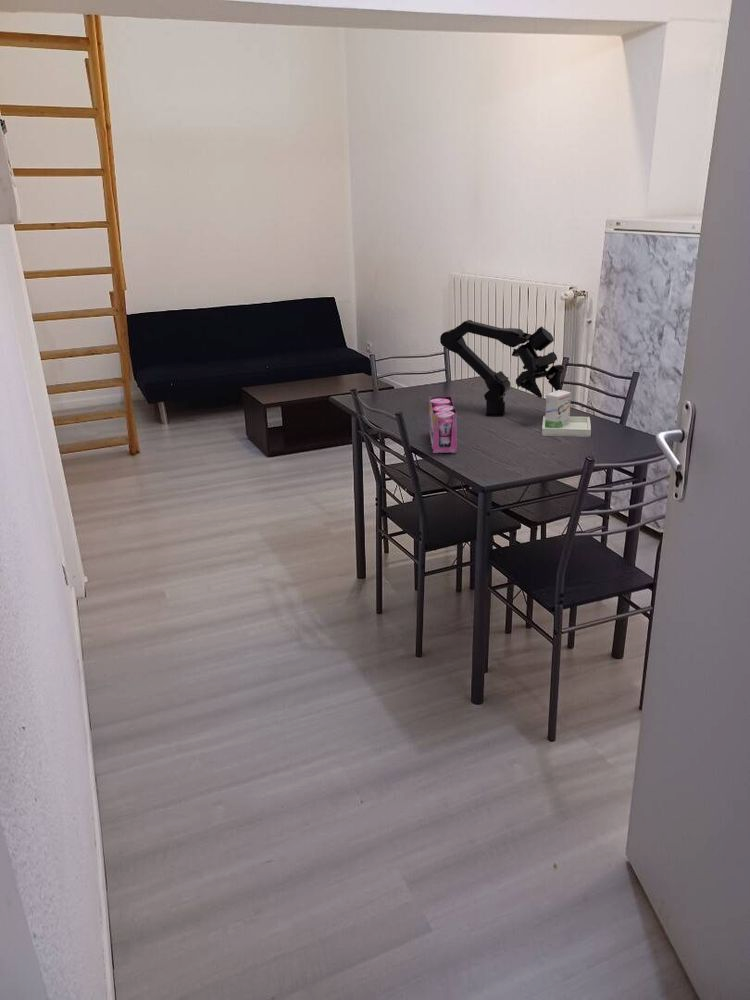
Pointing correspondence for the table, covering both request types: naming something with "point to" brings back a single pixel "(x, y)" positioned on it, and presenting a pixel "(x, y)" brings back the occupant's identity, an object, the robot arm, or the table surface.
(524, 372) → the robot arm
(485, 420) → the table surface
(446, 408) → the gum box
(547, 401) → the ink box
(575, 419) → the tray
